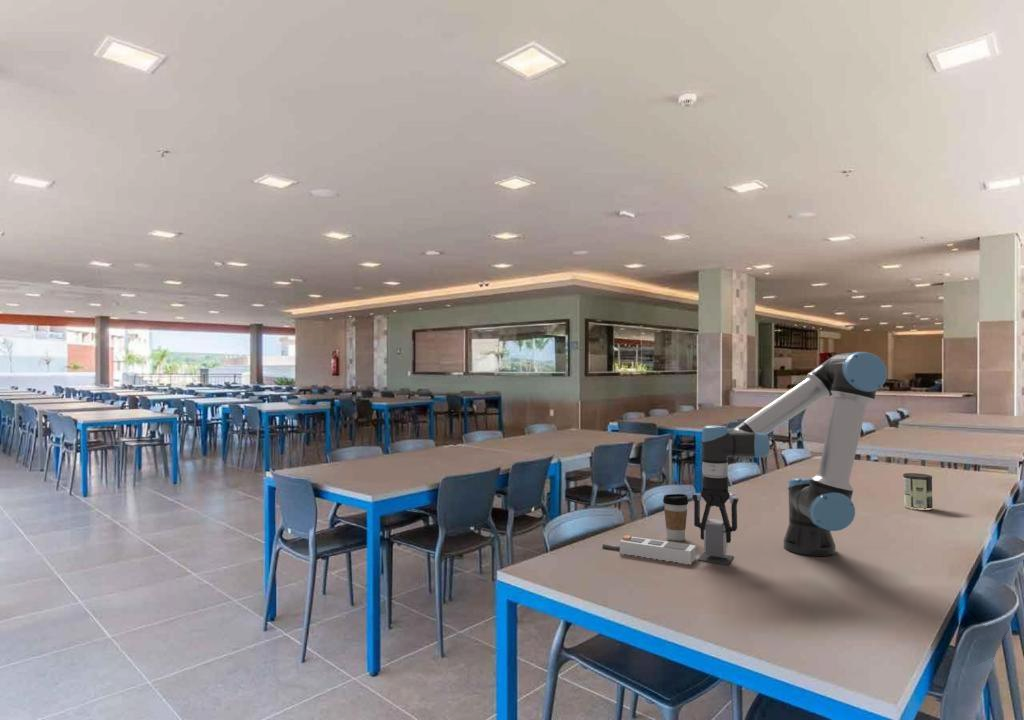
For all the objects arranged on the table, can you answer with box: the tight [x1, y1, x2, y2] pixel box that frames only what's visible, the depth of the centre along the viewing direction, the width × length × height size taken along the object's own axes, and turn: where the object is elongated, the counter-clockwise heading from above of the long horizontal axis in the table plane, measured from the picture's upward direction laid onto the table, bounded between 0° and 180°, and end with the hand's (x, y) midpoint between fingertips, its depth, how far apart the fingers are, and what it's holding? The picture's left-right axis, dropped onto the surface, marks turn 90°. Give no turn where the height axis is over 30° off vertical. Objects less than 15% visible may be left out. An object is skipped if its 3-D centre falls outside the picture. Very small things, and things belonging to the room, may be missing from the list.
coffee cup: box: [662, 493, 689, 541], centre depth 205 cm, size 8×8×15 cm
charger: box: [705, 518, 726, 557], centre depth 182 cm, size 5×5×10 cm
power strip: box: [602, 534, 697, 566], centre depth 186 cm, size 29×7×5 cm, turn 60°
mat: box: [697, 551, 735, 566], centre depth 182 cm, size 9×9×1 cm
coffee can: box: [902, 472, 933, 509], centre depth 251 cm, size 10×10×14 cm
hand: (715, 551), depth 182 cm, fingers closed on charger, 5 cm apart
